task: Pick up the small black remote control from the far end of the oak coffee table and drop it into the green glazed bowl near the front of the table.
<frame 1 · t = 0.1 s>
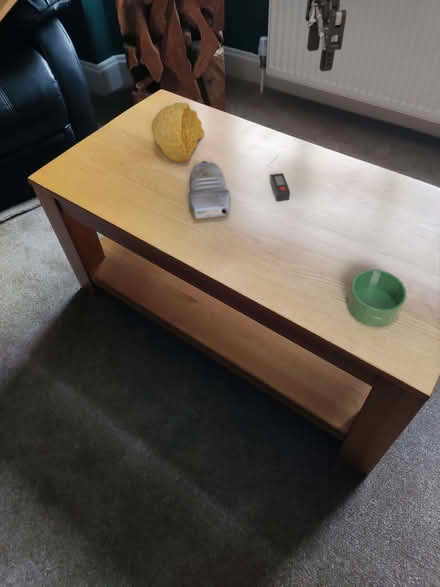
hand: (318, 59, 82), 28 cm above the table, tool pointing down, fingers open, 8 cm apart
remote: (279, 191, 103), on the table
bowl: (372, 305, 81), on the table
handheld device: (207, 194, 103), on the table
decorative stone: (179, 146, 116), on the table
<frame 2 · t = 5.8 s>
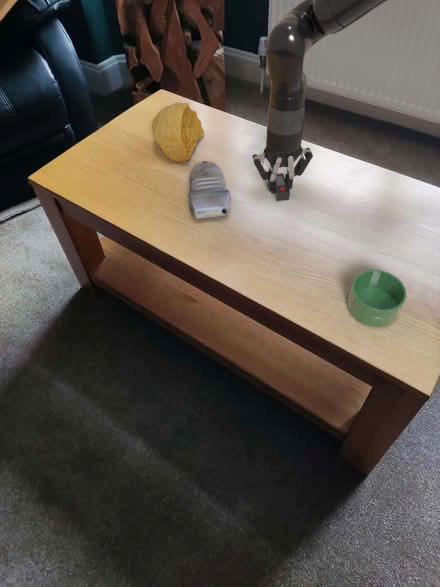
hand: (279, 189, 102), 0 cm above the table, tool pointing down, fingers closed on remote, 3 cm apart
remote: (279, 191, 103), on the table, touching gripper
everything else where it was.
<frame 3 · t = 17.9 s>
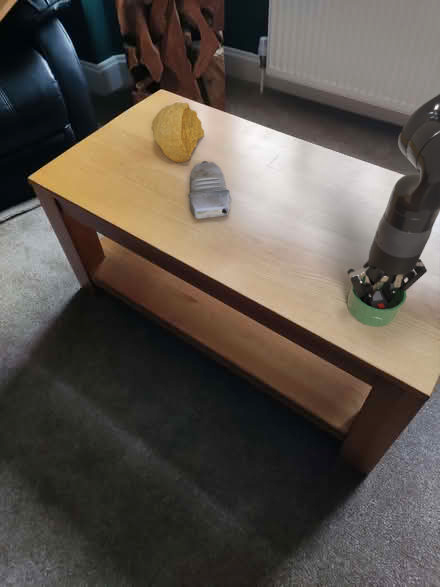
hand: (373, 303, 81), 1 cm above the table, tool pointing down, fingers closed on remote, 3 cm apart
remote: (373, 304, 81), point 1 cm above the table, touching gripper
everything else where it was.
when the fingers open (5 cm above the table, at t = 24.8 s): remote stays where it is, resting on bowl.
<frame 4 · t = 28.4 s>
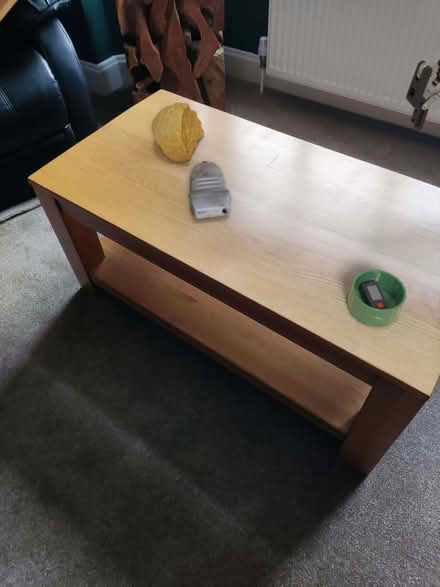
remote: (372, 304, 81), resting on bowl
everything else where it was.
at the end: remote 0.1 cm off-centre in the bowl, point 0.5 cm above the bowl's base; the gripper is holding nothing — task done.
